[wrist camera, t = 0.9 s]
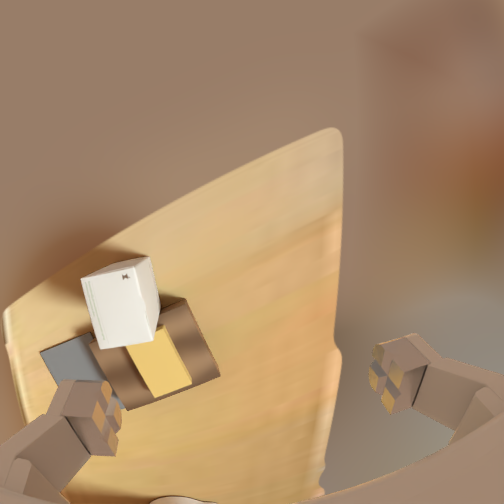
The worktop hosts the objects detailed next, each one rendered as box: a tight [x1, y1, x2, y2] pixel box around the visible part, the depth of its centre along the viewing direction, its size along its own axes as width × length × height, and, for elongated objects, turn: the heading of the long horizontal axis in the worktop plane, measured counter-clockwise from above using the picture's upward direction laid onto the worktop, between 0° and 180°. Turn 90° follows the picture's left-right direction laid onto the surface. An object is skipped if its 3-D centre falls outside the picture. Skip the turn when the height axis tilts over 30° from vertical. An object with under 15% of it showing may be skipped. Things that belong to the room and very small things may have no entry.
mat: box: [40, 332, 125, 410], centre depth 42 cm, size 14×11×1 cm
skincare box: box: [81, 256, 161, 349], centre depth 37 cm, size 8×7×16 cm
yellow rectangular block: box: [126, 325, 192, 398], centre depth 40 cm, size 9×6×2 cm, turn 23°
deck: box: [89, 299, 220, 411], centre depth 43 cm, size 12×16×4 cm
